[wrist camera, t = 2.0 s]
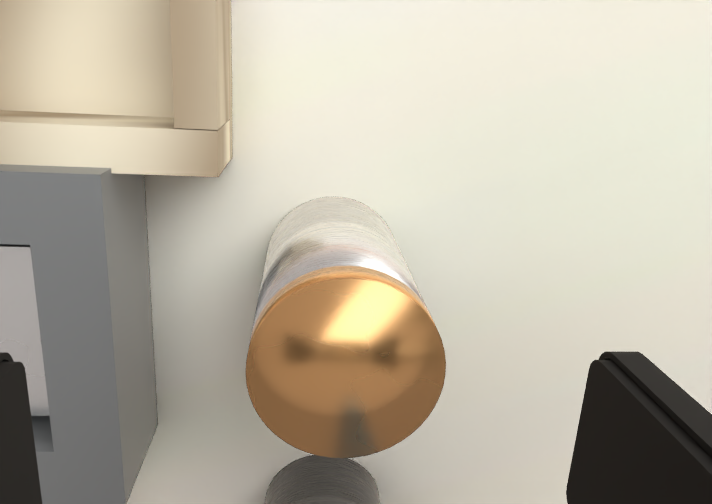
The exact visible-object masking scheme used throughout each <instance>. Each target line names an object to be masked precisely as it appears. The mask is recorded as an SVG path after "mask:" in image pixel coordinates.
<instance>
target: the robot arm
mask: <svg viewBox="0 0 712 504" xmlns="http://www.w3.org/2000/svg"><path fill="white" fill-rule="evenodd" d="M566 495H567V502H568V504H712V415H711V414H710V413H709V412H708V411H707V410H706V409H705V408H703V407H702V406H701V405H700V404H699V403H698V402H697V401H695V400H694V399H693V398H692V397H691V396H690V395H689V394H687V393H686V392H685V391H684V390H683V389H682V388H681V387H679V386H678V385H677V384H676V383H675V382H674V381H673V380H671V379H670V378H669V377H668V376H667V375H666V374H665V373H663V372H662V371H661V370H660V369H659V368H658V367H657V366H655V365H654V364H653V363H652V362H651V361H650V360H649V359H647V358H646V357H645V356H644V355H643V354H641V353H639V352H604V353H603V354H602V355H601V356H600V358H599V360H594V361H593V362H592V363H591V365H590V368H589V373H588V378H587V383H586V389H585V394H584V399H583V404H582V410H581V415H580V420H579V425H578V431H577V436H576V441H575V447H574V452H573V457H572V462H571V468H570V473H569V478H568V483H567V490H566ZM0 504H42V496H41V489H40V481H39V473H38V465H37V457H36V450H35V442H34V434H33V426H32V418H31V411H30V403H29V395H28V387H27V379H26V372H25V367H24V365H23V363H21V362H14V361H13V358H12V356H11V355H10V354H9V353H8V352H0Z"/></svg>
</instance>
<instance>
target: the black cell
mask: <svg viewBox="0 0 712 504" xmlns="http://www.w3.org/2000/svg"><path fill="white" fill-rule="evenodd" d="M265 504H380V500H379V494H378V489H377V486H376V483H375V481H374V479H373V478H372V476H371V475H370V474H369V472H368V471H367V470H366V469H365V468H363V467H362V466H361V465H359V464H358V463H356V462H354V461H353V460H350V459H348V458H330V457H324V456H318V455H312V456H308V457H304V458H301V459H299V460H296V461H294V462H292V463H291V464H289V465H287V466H286V467H285V468H283V469H282V470H281V471H280V472H279V473H278V474H277V475H276V476H275V477H274V479H273V480H272V482H271V483H270V485H269V488H268V490H267V493H266V498H265Z"/></svg>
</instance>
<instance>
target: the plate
mask: <svg viewBox="0 0 712 504" xmlns="http://www.w3.org/2000/svg"><path fill="white" fill-rule="evenodd" d="M0 352H8V353H9V354H10V355H11V356H12V358H13V361H14V362H21V363H23V365H24V367H25V372H26V379H27V387H28V395H29V403H30V411H31V416H50V415H49V406H48V397H47V389H46V380H45V371H44V363H43V354H42V345H41V337H40V328H39V319H38V311H37V302H36V293H35V284H34V276H33V267H32V258H31V250H30V245H16V244H0Z"/></svg>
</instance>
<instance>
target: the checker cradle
mask: <svg viewBox="0 0 712 504" xmlns="http://www.w3.org/2000/svg"><path fill="white" fill-rule="evenodd" d="M0 244H16V245H30V250H31V258H32V267H33V276H34V284H35V293H36V302H37V311H38V319H39V328H40V337H41V345H42V354H43V363H44V371H45V380H46V389H47V397H48V406H49V415H50V416H31V418H32V426H33V434H34V442H35V450H36V457H37V465H38V473H39V481H40V489H41V496H42V504H126V503H127V501H128V498H129V496H130V493H131V491H132V488H133V485H134V483H135V480H136V478H137V475H138V473H139V470H140V468H141V465H142V463H143V460H144V458H145V455H146V453H147V450H148V448H149V445H150V442H151V440H152V437H153V435H154V432H155V430H156V427H157V425H158V422H157V403H156V385H155V366H154V348H153V329H152V311H151V292H150V274H149V255H148V237H147V218H146V200H145V181H144V174H116V173H111V168H94V167H66V166H38V165H11V164H0Z"/></svg>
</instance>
